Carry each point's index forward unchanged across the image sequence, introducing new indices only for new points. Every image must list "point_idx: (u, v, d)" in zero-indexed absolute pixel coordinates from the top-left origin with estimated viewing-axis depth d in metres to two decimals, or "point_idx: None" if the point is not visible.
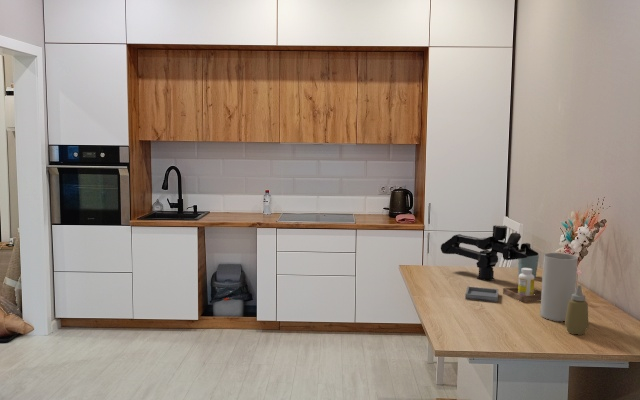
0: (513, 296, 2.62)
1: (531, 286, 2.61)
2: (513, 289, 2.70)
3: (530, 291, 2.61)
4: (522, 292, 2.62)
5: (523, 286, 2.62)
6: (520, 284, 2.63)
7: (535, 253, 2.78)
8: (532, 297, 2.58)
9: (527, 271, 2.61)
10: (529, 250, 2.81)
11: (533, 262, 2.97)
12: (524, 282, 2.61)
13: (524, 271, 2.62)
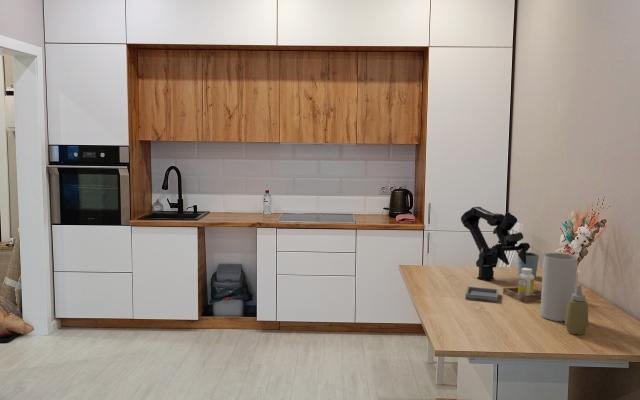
0: (513, 296, 2.62)
1: (531, 286, 2.61)
2: (513, 289, 2.70)
3: (530, 291, 2.61)
4: (522, 292, 2.62)
5: (523, 286, 2.62)
6: (520, 284, 2.63)
7: (524, 261, 2.73)
8: (532, 297, 2.58)
9: (527, 271, 2.61)
10: (522, 254, 2.74)
11: (533, 262, 2.97)
12: (524, 282, 2.61)
13: (524, 271, 2.62)
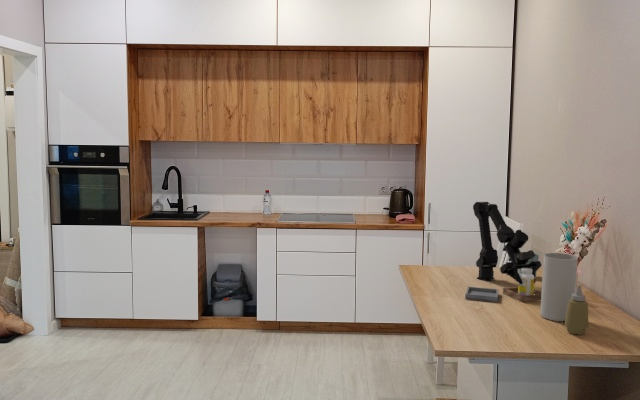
0: (513, 296, 2.62)
1: (531, 286, 2.61)
2: (513, 289, 2.70)
3: (530, 291, 2.61)
4: (522, 292, 2.62)
5: (523, 286, 2.62)
6: (520, 284, 2.63)
7: None
8: (532, 297, 2.58)
9: (527, 271, 2.61)
10: None
11: None
12: (524, 282, 2.61)
13: (524, 271, 2.62)
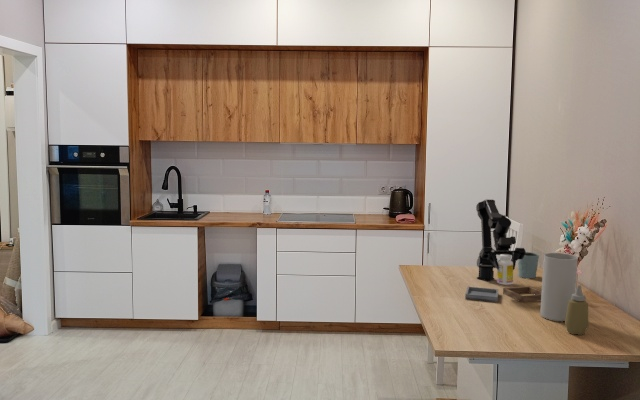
0: (513, 296, 2.62)
1: (508, 272, 2.58)
2: (513, 289, 2.70)
3: (506, 277, 2.59)
4: (499, 278, 2.60)
5: (499, 272, 2.60)
6: (498, 270, 2.61)
7: None
8: (532, 297, 2.58)
9: (504, 257, 2.59)
10: (513, 259, 2.62)
11: (533, 262, 2.97)
12: (500, 268, 2.59)
13: (501, 257, 2.60)
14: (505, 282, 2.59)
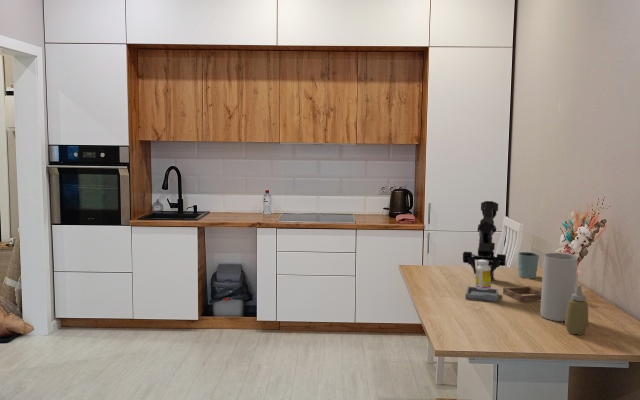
0: (513, 296, 2.62)
1: (483, 278, 2.60)
2: (513, 289, 2.70)
3: (482, 283, 2.60)
4: (476, 283, 2.63)
5: (476, 277, 2.62)
6: None
7: None
8: (532, 297, 2.58)
9: (480, 262, 2.61)
10: (492, 265, 2.63)
11: (533, 262, 2.97)
12: (477, 273, 2.62)
13: (478, 262, 2.62)
14: (481, 287, 2.61)
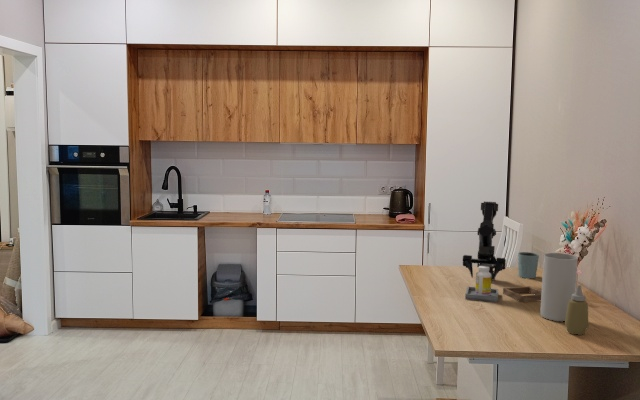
0: (513, 296, 2.62)
1: (484, 284, 2.60)
2: (513, 289, 2.70)
3: (482, 289, 2.60)
4: (476, 289, 2.63)
5: (476, 283, 2.62)
6: (476, 281, 2.64)
7: (493, 276, 2.61)
8: (532, 297, 2.58)
9: (481, 269, 2.61)
10: None
11: (533, 262, 2.97)
12: (477, 280, 2.62)
13: (479, 268, 2.62)
14: (480, 293, 2.61)
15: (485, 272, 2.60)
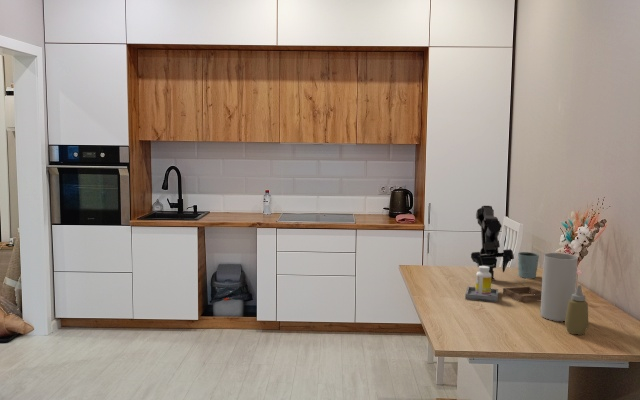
0: (513, 296, 2.62)
1: (484, 284, 2.60)
2: (513, 289, 2.70)
3: (482, 289, 2.60)
4: (476, 289, 2.63)
5: (476, 284, 2.62)
6: None
7: None
8: (532, 297, 2.58)
9: (481, 269, 2.61)
10: None
11: (533, 262, 2.97)
12: (477, 280, 2.62)
13: (479, 268, 2.62)
14: (480, 293, 2.61)
15: (485, 272, 2.60)
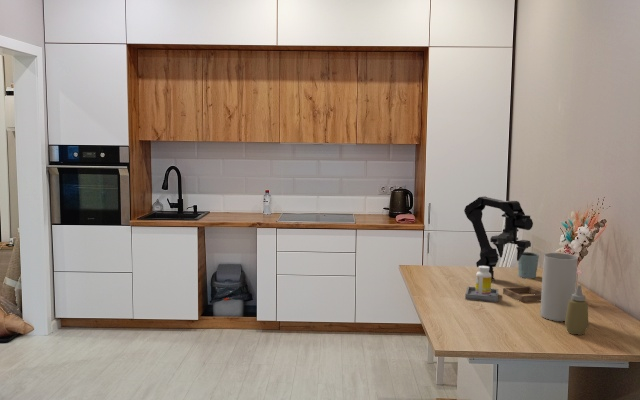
0: (513, 296, 2.62)
1: (484, 284, 2.60)
2: (513, 289, 2.70)
3: (482, 289, 2.60)
4: (476, 289, 2.63)
5: (476, 283, 2.62)
6: None
7: None
8: (532, 297, 2.58)
9: (481, 269, 2.61)
10: None
11: (533, 262, 2.97)
12: (477, 280, 2.62)
13: (479, 268, 2.62)
14: (480, 293, 2.61)
15: (485, 272, 2.60)
